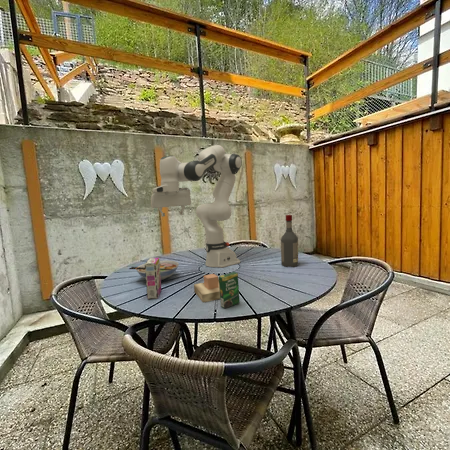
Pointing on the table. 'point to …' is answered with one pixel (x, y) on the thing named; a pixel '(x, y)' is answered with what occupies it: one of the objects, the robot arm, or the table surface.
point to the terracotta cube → (211, 281)
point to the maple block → (206, 293)
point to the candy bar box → (153, 278)
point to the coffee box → (229, 290)
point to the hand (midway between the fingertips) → (172, 215)
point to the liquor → (289, 245)
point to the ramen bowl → (165, 269)
